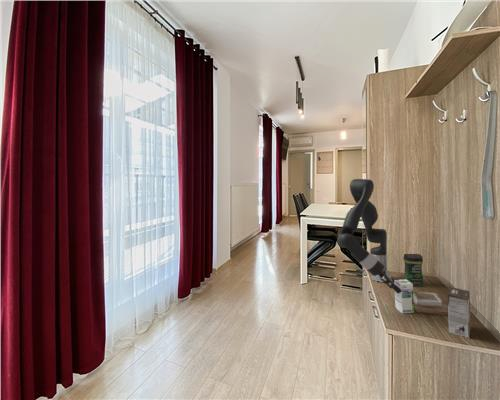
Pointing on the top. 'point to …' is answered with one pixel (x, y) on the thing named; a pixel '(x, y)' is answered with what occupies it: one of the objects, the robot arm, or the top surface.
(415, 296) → the socket collar
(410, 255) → the coffee jar
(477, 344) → the top surface
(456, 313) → the coffee box
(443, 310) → the carrier board
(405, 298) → the syrup box
